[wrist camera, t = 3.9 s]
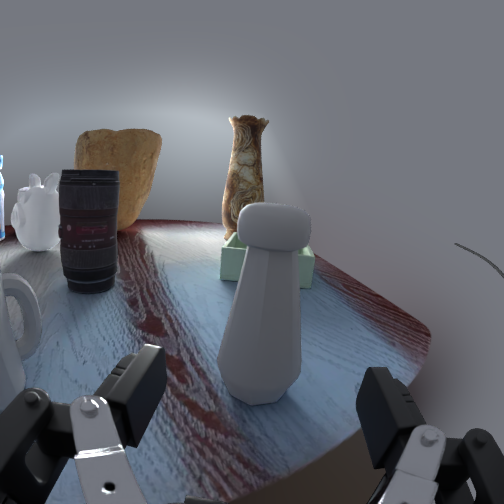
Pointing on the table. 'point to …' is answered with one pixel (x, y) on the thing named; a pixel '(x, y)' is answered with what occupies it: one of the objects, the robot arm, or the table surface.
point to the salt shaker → (265, 305)
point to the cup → (3, 342)
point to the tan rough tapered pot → (122, 164)
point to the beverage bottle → (1, 203)
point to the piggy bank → (38, 214)
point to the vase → (243, 170)
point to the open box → (236, 252)
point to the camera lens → (89, 228)
